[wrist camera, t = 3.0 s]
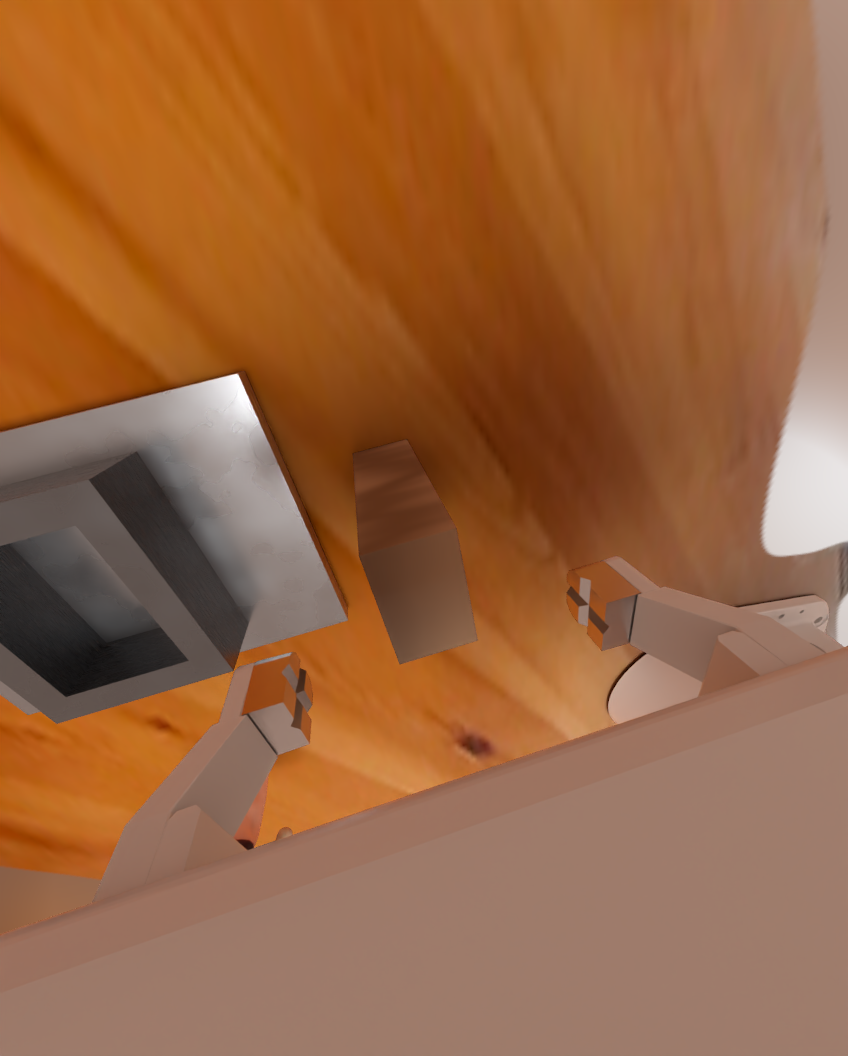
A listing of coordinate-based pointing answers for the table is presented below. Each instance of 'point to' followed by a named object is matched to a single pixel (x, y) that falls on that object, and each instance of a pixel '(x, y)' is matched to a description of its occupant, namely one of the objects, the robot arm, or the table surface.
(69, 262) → the table surface
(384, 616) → the walnut wedge
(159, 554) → the grey socket base
